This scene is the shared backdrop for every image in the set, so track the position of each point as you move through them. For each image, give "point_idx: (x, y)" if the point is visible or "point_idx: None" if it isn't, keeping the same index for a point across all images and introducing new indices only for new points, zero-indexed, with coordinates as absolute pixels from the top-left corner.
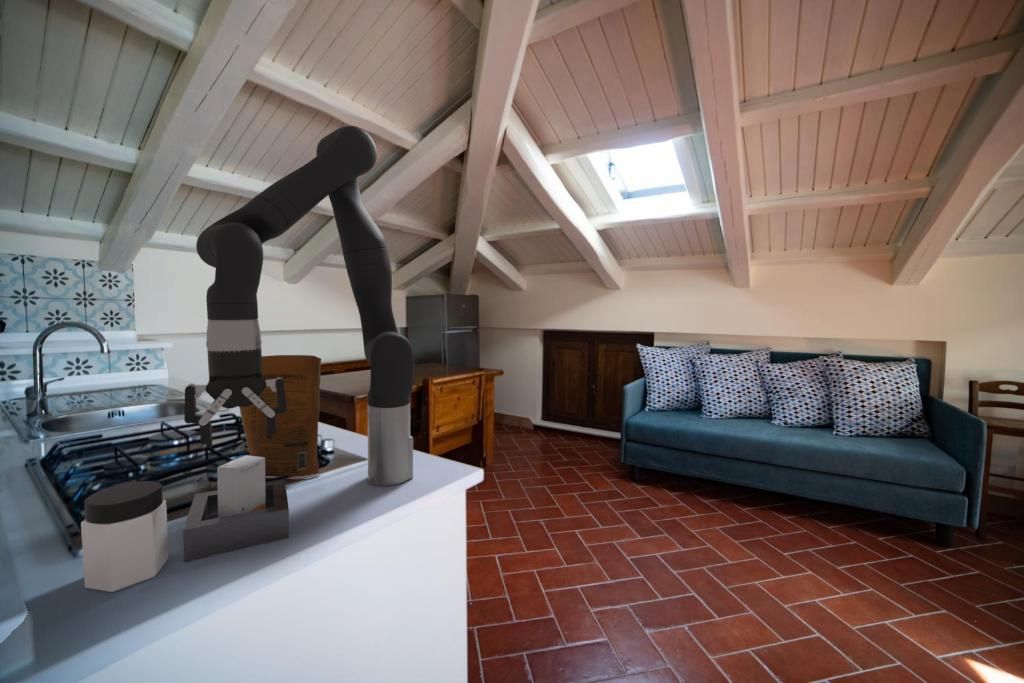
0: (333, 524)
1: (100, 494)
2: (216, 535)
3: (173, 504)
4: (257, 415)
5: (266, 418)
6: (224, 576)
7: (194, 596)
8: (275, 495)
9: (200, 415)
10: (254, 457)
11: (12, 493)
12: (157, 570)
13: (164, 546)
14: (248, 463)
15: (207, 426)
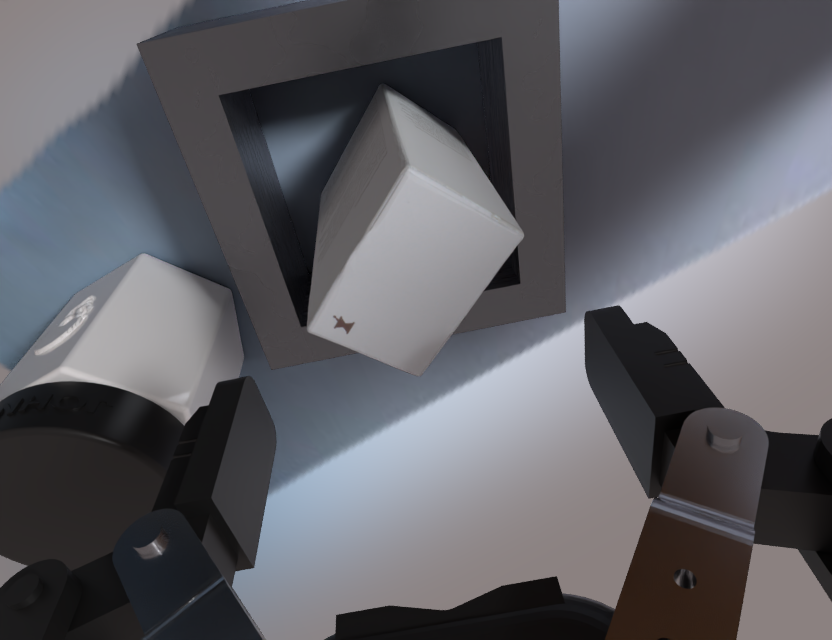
0: (666, 215)
1: None
2: None
3: None
4: None
5: (651, 496)
6: (403, 385)
7: (364, 430)
8: (518, 182)
9: (136, 626)
10: (468, 228)
11: None
12: (241, 351)
13: (227, 339)
14: (451, 316)
15: (238, 564)
